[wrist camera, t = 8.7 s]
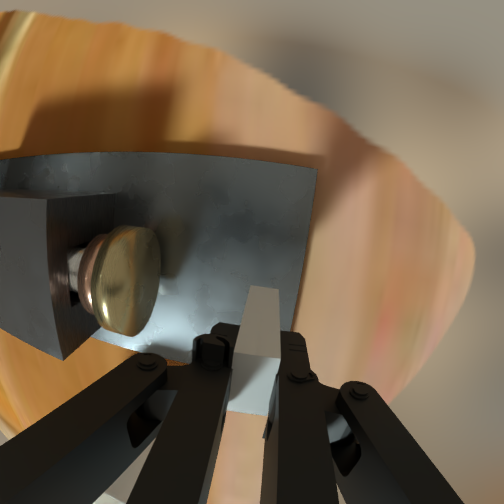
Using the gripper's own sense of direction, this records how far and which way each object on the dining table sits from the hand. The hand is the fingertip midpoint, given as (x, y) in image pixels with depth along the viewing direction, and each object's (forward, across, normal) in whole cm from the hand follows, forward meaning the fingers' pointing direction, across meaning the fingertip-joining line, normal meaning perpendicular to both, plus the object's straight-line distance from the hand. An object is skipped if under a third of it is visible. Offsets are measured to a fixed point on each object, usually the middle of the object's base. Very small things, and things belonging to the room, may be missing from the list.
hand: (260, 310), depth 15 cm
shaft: (+4, -18, 0) cm, 18 cm away
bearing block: (+5, -15, 0) cm, 16 cm away
